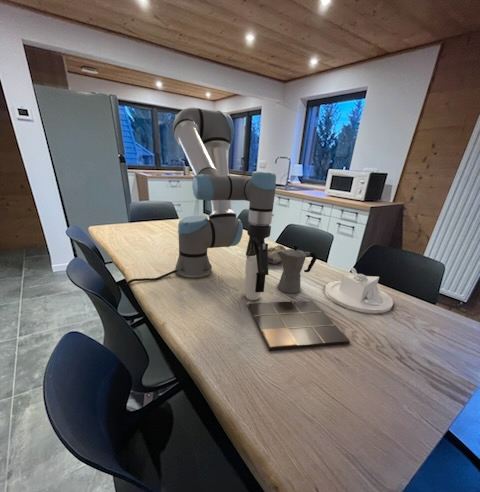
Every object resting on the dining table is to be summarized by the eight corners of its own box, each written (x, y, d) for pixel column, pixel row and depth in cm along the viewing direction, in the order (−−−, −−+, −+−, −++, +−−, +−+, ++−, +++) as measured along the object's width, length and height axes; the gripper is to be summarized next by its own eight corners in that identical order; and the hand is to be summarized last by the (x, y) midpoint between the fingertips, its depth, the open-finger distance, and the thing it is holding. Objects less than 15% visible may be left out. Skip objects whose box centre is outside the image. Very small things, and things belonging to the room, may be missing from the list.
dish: (358, 318, 89) (367, 288, 84) (312, 286, 109) (317, 261, 104) (407, 307, 98) (418, 279, 93) (356, 280, 119) (363, 256, 114)
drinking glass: (248, 303, 93) (252, 263, 86) (239, 294, 98) (242, 256, 92) (264, 299, 96) (269, 261, 89) (255, 291, 101) (259, 254, 95)
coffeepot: (274, 293, 102) (280, 248, 94) (271, 282, 110) (276, 240, 102) (313, 294, 102) (323, 250, 95) (307, 284, 111) (315, 242, 103)
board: (269, 350, 70) (270, 347, 70) (248, 305, 91) (248, 302, 91) (349, 343, 75) (350, 340, 75) (311, 302, 96) (312, 299, 96)
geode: (253, 270, 134) (280, 273, 126) (248, 255, 129) (276, 257, 121) (267, 251, 144) (292, 253, 136) (263, 236, 139) (290, 237, 131)
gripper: (284, 233, 75) (275, 299, 84) (260, 216, 97) (255, 270, 106) (259, 232, 73) (252, 300, 82) (240, 216, 95) (236, 270, 104)
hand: (254, 283), depth 94 cm, fingers open, 13 cm apart
